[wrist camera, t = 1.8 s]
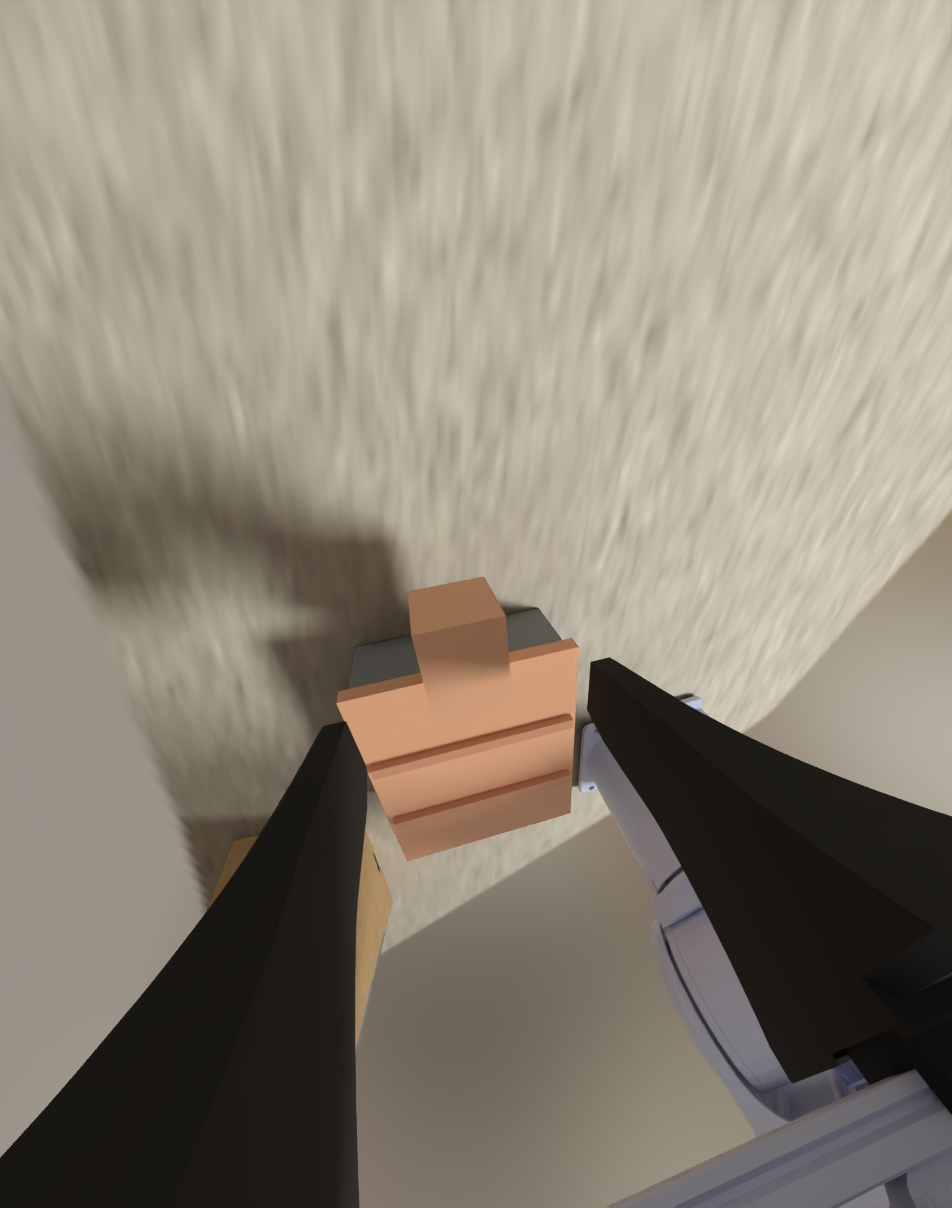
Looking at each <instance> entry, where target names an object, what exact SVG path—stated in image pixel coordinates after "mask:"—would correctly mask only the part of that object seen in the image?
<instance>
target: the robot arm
mask: <svg viewBox="0 0 952 1208" xmlns="http://www.w3.org/2000/svg"><path fill="white" fill-rule="evenodd" d="M701 706H702V699H701V698H700V697H698V696H693V697H690V698H686V699H682V700H679V699H677V698H675V697H674V696H672V695H670V694H669V693H667V692H665V691H664V690H662V689H660V688H659V687H657V686H655V685H654V684H652V683H650V682H649V681H647V680H646V679H644V678H642V677H641V676H639V675H638V674H636V673H634V672H633V671H631V670H630V669H628V668H626V667H625V666H623V665H621V664H620V663H618V662H617V661H615V660H613V659H612V658H610V657H609V658H605V659H601V660H597V661H593V662H591V666H590V679H589V692H588V705H587V710H588V712H589V715H590V717H591V719H592V721H593V723H591V724H588V725H586V726H584V727H583V729H582V739H581V754H580V769H579V783H578V788H579V790H580V792H581V793H586V792H590V791H593V790H597V789H598V790H599V792H600V794H601V796H602V797H603V799H604V801H605V803H606V805H607V807H608V808H609V810H610V812H611V814H612V816H613V818H614V819H615V821H616V823H617V825H618V827H619V829H620V830H621V832H622V834H623V836H624V838H625V840H626V842H627V843H628V845H629V847H630V849H631V851H632V853H633V854H634V856H635V858H636V860H637V862H638V864H639V865H640V867H641V869H642V871H643V873H644V874H645V876H646V878H647V880H648V882H649V884H650V886H651V887H652V889H653V891H654V893H655V895H656V897H655V898H653V899H652V900H650V904H651V906H652V908H653V910H654V912H655V914H656V916H657V918H658V919H656V920H655V921H654V922H653V924H652V936H653V942H652V945H653V952H654V957H655V961H656V964H657V967H658V970H659V973H660V976H661V978H662V981H663V983H664V986H665V988H666V991H667V993H668V995H669V997H670V999H671V1001H672V1004H673V1006H674V1008H675V1010H676V1012H677V1014H678V1016H679V1018H680V1020H681V1021H682V1023H683V1025H684V1027H685V1029H686V1030H687V1032H688V1034H689V1036H690V1037H691V1039H692V1041H693V1042H694V1044H695V1046H696V1047H697V1049H698V1050H699V1052H700V1054H701V1055H702V1056H703V1058H704V1059H705V1061H706V1062H707V1063H708V1065H709V1066H710V1068H711V1069H712V1070H713V1071H714V1073H715V1074H716V1075H717V1076H718V1077H719V1078H720V1079H721V1081H722V1082H723V1084H724V1085H725V1087H726V1088H727V1090H728V1091H729V1093H730V1094H731V1096H732V1097H733V1099H734V1100H735V1102H736V1103H737V1105H738V1107H739V1108H740V1110H741V1112H742V1113H743V1115H744V1116H745V1118H746V1120H747V1121H748V1123H749V1125H750V1127H751V1128H752V1130H753V1132H754V1133H755V1135H756V1137H757V1138H754V1139H752V1140H750V1141H748V1142H746V1143H743V1144H741V1145H739V1146H737V1147H735V1148H733V1149H730V1150H728V1151H726V1152H724V1153H722V1154H720V1155H717V1156H715V1157H713V1158H711V1159H709V1160H707V1161H704V1162H702V1163H700V1164H698V1165H696V1166H694V1167H691V1168H689V1169H687V1170H685V1171H683V1172H680V1173H678V1174H676V1175H674V1176H672V1177H670V1178H667V1179H665V1180H663V1181H661V1182H659V1183H657V1184H654V1185H652V1186H650V1187H648V1188H646V1189H644V1190H641V1191H639V1192H637V1193H635V1194H633V1195H630V1196H629V1197H626V1198H624V1199H622V1200H620V1201H617V1202H615V1203H613V1204H611V1205H609V1206H607V1207H604V1208H952V816H949V815H946V814H943V813H939V812H936V811H933V810H930V809H927V808H924V807H921V806H918V805H915V804H913V803H909V802H907V801H904V800H901V799H898V798H896V797H893V796H890V795H887V794H884V793H882V792H879V791H876V790H873V789H870V788H868V787H865V786H863V785H860V784H857V783H855V782H852V781H850V780H847V779H844V778H842V777H839V776H837V775H834V774H832V773H829V772H827V771H824V770H822V769H820V768H817V767H815V766H812V765H810V764H807V763H805V762H802V761H800V760H798V759H795V758H793V757H791V756H789V755H786V754H784V753H782V752H780V751H777V750H775V749H773V748H771V747H769V746H767V745H765V744H763V743H760V742H758V741H756V740H754V739H752V738H750V737H748V736H745V735H743V734H741V733H739V732H737V731H735V730H733V729H731V728H730V727H728V726H726V725H724V724H722V723H720V722H718V721H716V720H715V719H713V718H711V717H709V716H708V715H707V714H706V713H705V712H704V711H703V710H702V709H701ZM366 813H367V767H366V764H365V762H364V760H363V758H362V755H361V753H360V751H359V749H358V746H357V744H356V742H355V740H354V738H353V735H352V733H351V731H350V729H349V726H348V724H347V722H346V721H344V722H339V723H335V724H331V725H327V726H323V727H322V729H321V730H320V732H319V734H318V736H317V737H316V739H315V741H314V743H313V745H312V747H311V748H310V750H309V752H308V754H307V756H306V757H305V759H304V761H303V763H302V765H301V766H300V768H299V770H298V772H297V773H296V775H295V777H294V779H293V781H292V782H291V784H290V786H289V787H288V789H287V791H286V792H285V794H284V796H283V797H282V799H281V801H280V802H279V804H278V806H277V808H276V809H275V811H274V813H273V814H272V816H271V817H270V819H269V821H268V822H267V824H266V825H265V827H264V828H263V830H262V831H261V833H260V835H259V836H258V838H257V839H256V841H255V842H254V844H253V845H252V847H251V849H250V850H249V852H248V853H247V855H246V856H245V858H244V859H243V861H242V862H241V864H240V865H239V867H238V868H237V869H236V871H235V872H234V874H233V875H232V877H231V878H230V880H229V881H228V882H227V884H226V885H225V887H224V888H223V890H222V891H221V892H220V894H219V895H218V896H217V898H216V899H215V901H214V902H213V903H212V905H211V906H210V908H209V909H208V910H207V912H206V913H205V914H204V916H203V917H202V918H201V920H200V921H199V922H198V924H197V925H196V926H195V928H194V929H193V930H192V932H191V933H190V934H189V935H188V937H187V938H186V939H185V941H184V942H183V943H182V944H181V946H180V947H179V948H178V950H177V951H176V952H175V954H174V955H173V956H172V958H171V959H170V960H169V961H168V963H167V964H166V965H165V967H164V968H163V969H162V970H161V972H160V973H159V974H158V975H157V977H156V978H155V979H154V980H153V982H152V983H151V984H150V985H149V987H148V988H147V989H146V991H144V993H143V994H142V995H141V996H140V998H139V999H138V1000H137V1001H136V1002H135V1004H134V1005H133V1006H132V1007H131V1008H130V1009H129V1011H128V1012H127V1013H126V1014H125V1015H124V1017H123V1018H122V1019H121V1020H120V1022H119V1023H118V1024H117V1025H116V1026H115V1027H114V1029H113V1030H112V1031H111V1032H110V1033H109V1034H108V1036H107V1037H106V1038H105V1039H104V1040H103V1042H102V1043H101V1044H100V1045H99V1046H98V1048H97V1049H96V1050H95V1051H94V1052H93V1053H92V1055H91V1056H90V1057H89V1058H88V1059H87V1060H86V1062H85V1063H84V1064H83V1065H82V1067H81V1068H80V1069H79V1070H78V1071H77V1073H76V1074H75V1075H74V1076H73V1077H72V1078H71V1079H70V1080H69V1082H68V1083H67V1084H66V1085H65V1086H64V1087H63V1088H62V1090H61V1091H60V1092H59V1093H58V1095H56V1097H55V1098H54V1099H53V1100H52V1101H51V1102H50V1103H49V1105H48V1106H47V1107H46V1108H45V1109H44V1110H43V1111H42V1112H41V1114H40V1115H39V1116H38V1117H37V1118H36V1119H35V1120H34V1121H33V1122H32V1123H31V1125H30V1126H29V1127H28V1128H27V1129H26V1130H25V1131H24V1132H23V1133H22V1135H21V1136H20V1137H19V1138H18V1139H17V1140H16V1141H15V1142H14V1143H13V1145H11V1147H10V1148H9V1149H8V1150H7V1151H6V1152H5V1153H4V1154H3V1156H1V1158H0V1208H359V1187H358V1158H357V1157H358V1155H357V1119H356V1057H355V971H356V922H357V907H358V895H359V885H360V875H361V865H362V855H363V845H364V835H365V824H366Z"/></svg>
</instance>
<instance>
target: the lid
mask: <svg viewBox="0 0 952 1208" xmlns="http://www.w3.org/2000/svg"><path fill="white" fill-rule="evenodd" d="M407 593H408V604H409V616H410V627H411V637H412V641H413V645H414V648H415V652H416V656H417V660H418V664H419V668H420V672H421V673H417V674H412V675H408V676H403V677H399V678H395V679H390V680H386V681H382V682H377V683H373V684H368V685H364V686H360V687H355V688H351V689H346V690H342V691H338V696H337V701H336V704H337V706H338V709H339V711H340V713H341V715H342V717H343V720H344V721H346V722H347V724H348V726H349V729H350V731H351V733H352V735H353V738H354V740H355V742H356V744H357V746H358V749H359V751H360V753H361V755H362V758H363V760H364V762H365V764H366V767H367V773H368V775H369V777H370V780H371V782H372V784H373V786H374V789H375V791H376V793H377V795H378V797H379V800H380V802H381V804H382V806H383V809H384V811H385V813H386V815H387V817H388V820H389V822H390V824H391V826H392V829H393V831H394V833H395V835H396V837H397V840H398V842H399V844H400V846H401V849H402V851H403V853H404V855H405V857H406V860H407V861H410V860H413V859H417V858H420V857H423V856H427V855H430V854H433V853H437V852H440V851H444V850H447V849H450V848H454V847H457V846H460V845H464V844H467V843H471V842H474V841H477V840H481V839H484V838H487V837H491V836H494V835H498V834H501V833H504V832H508V831H511V830H515V829H518V828H521V827H525V826H528V825H531V824H535V823H538V822H542V821H545V820H548V819H552V818H555V817H558V816H562V815H565V814H569V813H570V810H571V791H572V771H573V752H574V732H575V713H576V693H577V674H578V654H579V646H578V645H577V644H576V643H575V641H574V640H573V639H572V638H570V639H566V640H561V641H557V642H552V643H548V644H544V645H539V646H535V647H531V648H526V649H522V650H517V651H513V652H508V640H507V627H506V616H505V614H504V612H503V610H502V608H501V607H500V605H499V603H498V601H497V599H496V598H495V596H494V594H493V592H492V590H491V589H490V587H489V585H488V583H487V581H486V580H485V578H484V577H479V578H474V579H469V580H464V581H459V582H454V583H449V584H444V585H439V586H434V587H429V588H424V589H419V590H414V591H409V592H407Z"/></svg>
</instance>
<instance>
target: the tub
mask: <svg viewBox="0 0 952 1208" xmlns="http://www.w3.org/2000/svg"><path fill="white" fill-rule="evenodd" d="M505 616H506V627H507V640H508V652H513V651H517V650H522V649H526V648H531V647H535V646H539V645H544V644H548V643H552V642H557V641H561V640H562V639H561V638H560V636H559V635H558V634H557V632H556V631H555V630H554V628H553V627H552V626H551V624H550V623H549V622H548V620H547V619H546V617H545V616H544V615H543V613H542V612H541V611H540V609H539V608H536V609H531V610H526V611H522V612H517V613H512V614H508V615H505ZM417 673H421V672H420V668H419V664H418V660H417V656H416V652H415V648H414V645H413V641H412V637H411V635H409V636H405V637H400V638H395V639H391V640H386V641H381V642H377V643H372V644H367V645H363V646H358V647H355V651H354V657H353V664H352V670H351V677H350V683H349V689H351V688H355V687H360V686H364V685H368V684H373V683H377V682H382V681H386V680H390V679H395V678H399V677H403V676H408V675H412V674H417Z"/></svg>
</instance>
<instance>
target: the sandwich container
mask: <svg viewBox="0 0 952 1208" xmlns="http://www.w3.org/2000/svg"><path fill="white" fill-rule="evenodd" d="M259 835H260V834H259ZM259 835H255V836H251V837H247V838H242V839H238V840H234V841H233V843H232V846H231V849H230V851H229V854H228V856H227V859H226V862H225V864H224V867H223V870H222V872H221V875H220V878H219V880H218V883H217V885H216V888H215V891H214V893H213V896H212V899H211V901H210V904H209V906H208V909H209V908H210V906H211V905H212V903H213V902H214V901H215V899H216V898H217V896H218V895H219V894H220V892H221V891H222V890H223V888H224V887H225V885H226V884H227V882H228V881H229V880H230V878H231V877H232V875H233V874H234V872H235V871H236V869H237V868H238V867H239V865H240V864H241V862H242V861H243V859H244V858H245V856H246V855H247V853H248V852H249V850H250V849H251V847H252V845H253V844H254V842H255V841H256V839H257V838H258V836H259ZM373 853H374V855H375V857H376V854H375V852H374V849H373V846H372V844H371V842H370V840H369V838H368V836H367V834H366V832H365V835H364V845H363V855H362V865H361V875H360V885H359V895H358V907H357V922H356V971H355V1057H356V1062H357V1057H358V1052H359V1048H360V1043H361V1039H362V1034H363V1029H364V1025H365V1021H366V1016H367V1011H368V1007H369V1003H370V998H371V993H372V989H373V983H374V979H375V974H376V969H377V965H378V961H379V957H380V952H381V948H382V944H383V940H384V935H385V931H386V927H387V923H388V919H389V915H390V911H391V907H392V903H393V902H392V899H391V896H390V893H389V890H388V887H387V884H386V881H385V878H384V875H383V872H382V869H381V867H380V865H379V862H378V859H377V857H376V860H377V862H378V865H379V869H380V870H378V867H377V863H376V861H375V858H374V856H373ZM208 909H207V910H208Z"/></svg>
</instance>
